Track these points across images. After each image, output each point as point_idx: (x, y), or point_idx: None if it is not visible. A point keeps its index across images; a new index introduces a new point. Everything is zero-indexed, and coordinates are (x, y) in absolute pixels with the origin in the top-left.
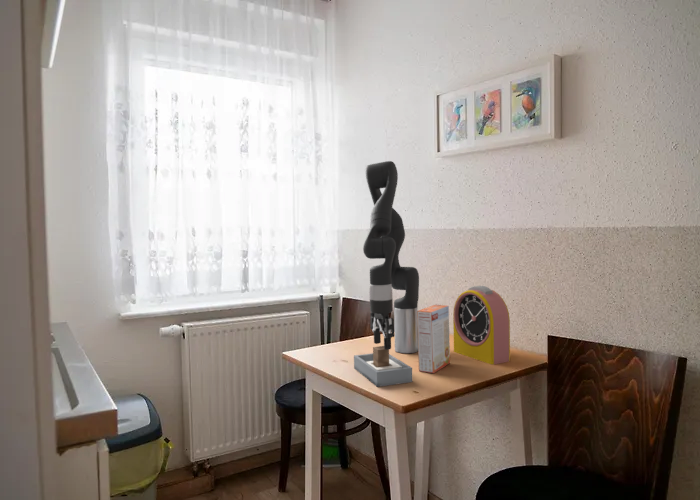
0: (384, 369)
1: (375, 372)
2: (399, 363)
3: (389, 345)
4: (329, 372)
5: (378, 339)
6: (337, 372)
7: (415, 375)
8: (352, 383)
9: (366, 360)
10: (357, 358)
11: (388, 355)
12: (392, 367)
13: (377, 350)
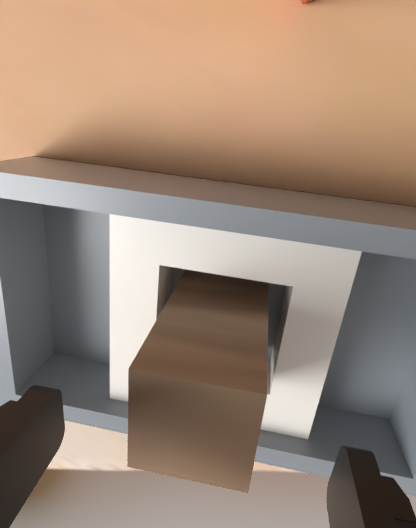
0: (325, 370)
1: (400, 486)
2: (320, 242)
3: (400, 523)
4: (72, 462)
5: (36, 442)
6: (85, 439)
7: (374, 103)
8: (271, 470)
9: (34, 318)
10: (68, 418)
11: (267, 353)
12: (335, 315)
13: (240, 484)
